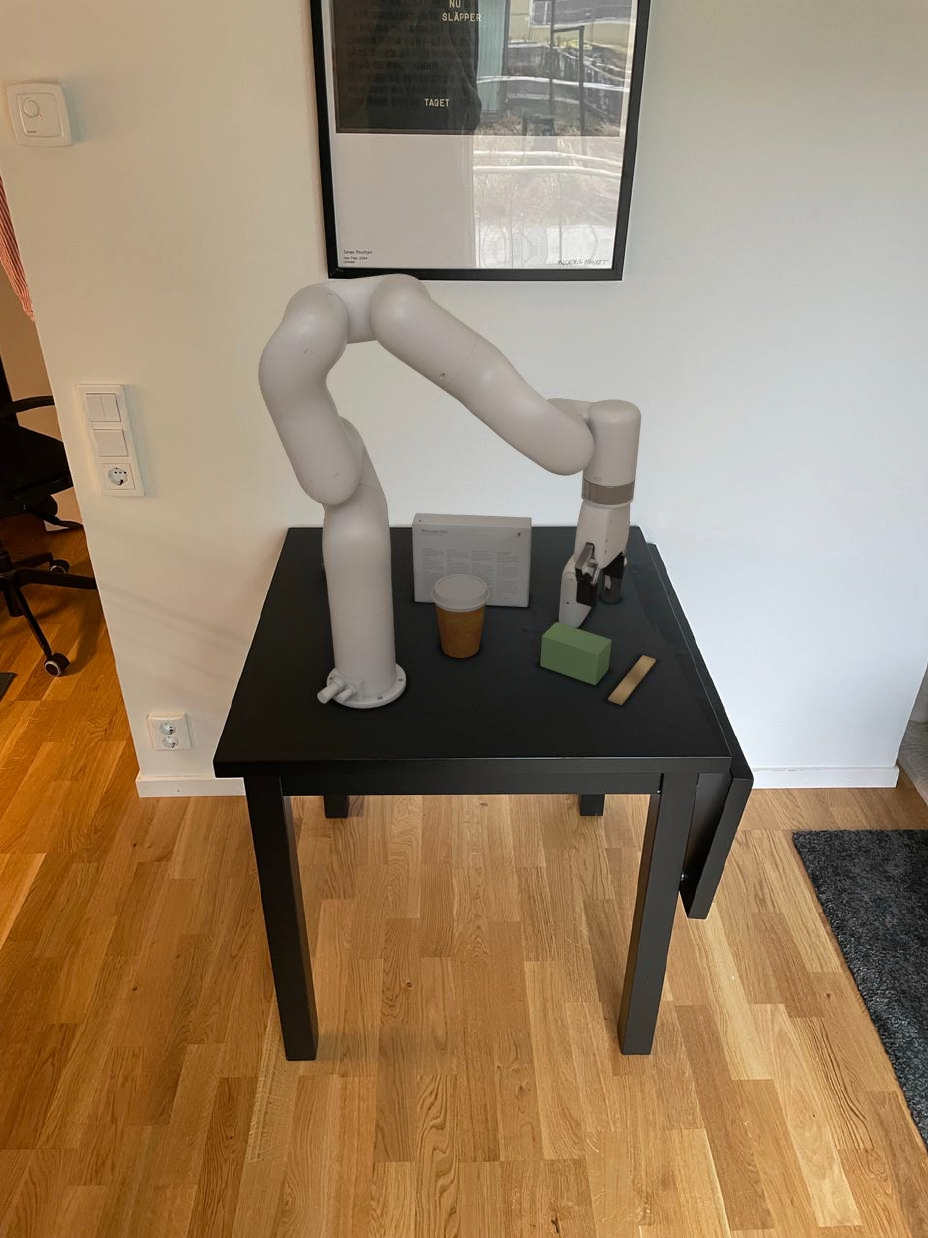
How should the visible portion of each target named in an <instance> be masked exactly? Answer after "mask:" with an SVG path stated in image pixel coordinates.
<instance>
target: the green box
mask: <svg viewBox="0 0 928 1238" xmlns="http://www.w3.org/2000/svg"><path fill="white" fill-rule="evenodd" d="M611 648H612V639H610V638H607V637H604V636H602V635H598V634H595V633H591V632H589V631H585V630H583V629H579V628H578V627H577V628H574V627H570V626H567V625H564V624H561V623H559V621H555V623H553V624H552V625H551V626H550V628H548V629H547V630H546V631H545V632H544V633H543V634H542V635H541V647H540V664H539V665H540V667H541V668H544V669H548V670H550V671H553V672H557V673H559V674H561V675H564V676H567V677H570V678H573V679H576V680H579V681H581V682H585V683H587V684H591V685H593V686H596V685H597V684H598V683H599V682H600V681H601V679H602V678H603V677H604V676H605V675H606V674H607V672H609V667H610V658H611Z"/></svg>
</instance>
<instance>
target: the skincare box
mask: <svg viewBox="0 0 928 1238" xmlns="http://www.w3.org/2000/svg"><path fill="white" fill-rule="evenodd" d="M532 520H533V519H532V517H529V516H528V517H527V516H503V515H478V514H451V513H449V514H448V513H424V512H416V513H415V514H414V517H413V519H412V522H411V528H412V529H411V531H412V532H411V533H412V536H411V537H412V567H413V568H412V569H413V591H414V594H413V595H414V602H415V603H434V600H433V599H432V594H431V593H432V590H433V588H434V586H435V583H436V582H437V581H438V580H439V579H441V578H443V577H445V576H449V575H453V574H467V575H472V576H476V577H478V578H480V579H482V580H483V581H484V582H485V584H486V586H487V589H488V590H489V599H488V600H487V602H486V606H496V607H517V608H528V607H529V601H530V585H531V584H530V583H531V582H530V580H531V555H532ZM434 604H435V603H434Z"/></svg>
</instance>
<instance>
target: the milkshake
mask: <svg viewBox="0 0 928 1238" xmlns="http://www.w3.org/2000/svg"><path fill="white" fill-rule="evenodd" d="M627 563H628V560H627V557H625V562H624V572H623V577H622V578H621V579H617V578H614V577H610V576H606V575H604V574H603V569H601V594H600V595H601V598H600V599H601V600H602V601H603V602H605V603H609V604H616V603H617V602H620V601H619V600H620V597H621V590H622V586H623V585H622V584H623V580H624V576H625V572H626V568H627Z"/></svg>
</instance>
